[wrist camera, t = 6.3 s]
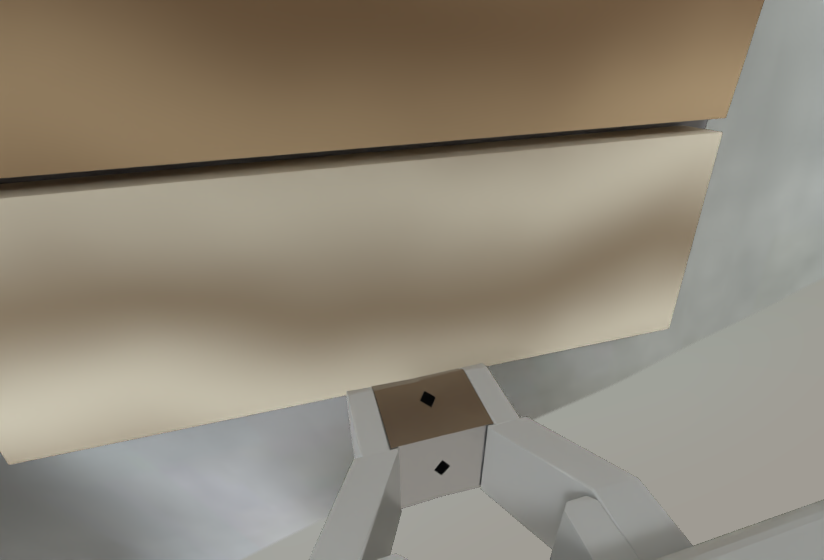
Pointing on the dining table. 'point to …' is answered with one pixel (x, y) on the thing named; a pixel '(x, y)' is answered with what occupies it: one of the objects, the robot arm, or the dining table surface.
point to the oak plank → (346, 74)
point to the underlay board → (340, 152)
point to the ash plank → (327, 276)
